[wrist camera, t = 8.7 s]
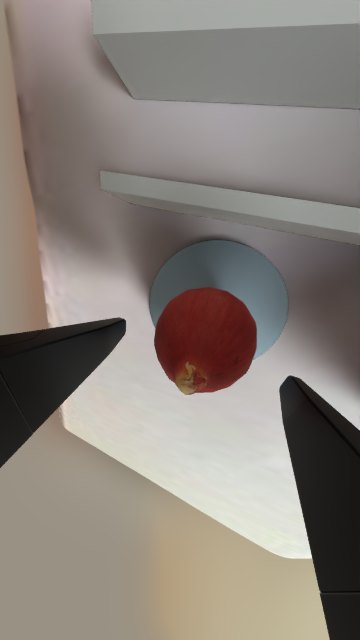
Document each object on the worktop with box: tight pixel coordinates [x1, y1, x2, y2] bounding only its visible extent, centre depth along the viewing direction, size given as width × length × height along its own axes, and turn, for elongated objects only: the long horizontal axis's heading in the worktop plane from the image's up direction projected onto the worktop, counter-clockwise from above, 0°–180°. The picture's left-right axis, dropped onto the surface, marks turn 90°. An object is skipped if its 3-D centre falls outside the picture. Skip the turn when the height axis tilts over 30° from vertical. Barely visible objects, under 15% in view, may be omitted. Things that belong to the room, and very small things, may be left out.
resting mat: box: [150, 240, 288, 360], centre depth 13 cm, size 11×11×1 cm
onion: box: [154, 287, 257, 395], centre depth 9 cm, size 6×6×8 cm
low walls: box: [91, 0, 360, 245], centre depth 7 cm, size 16×6×3 cm, turn 79°
